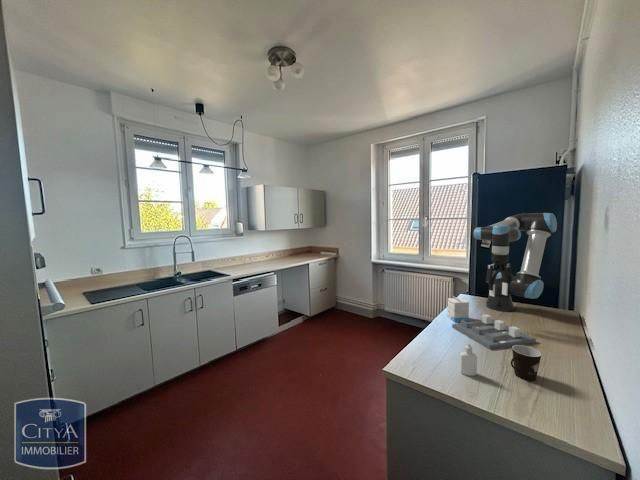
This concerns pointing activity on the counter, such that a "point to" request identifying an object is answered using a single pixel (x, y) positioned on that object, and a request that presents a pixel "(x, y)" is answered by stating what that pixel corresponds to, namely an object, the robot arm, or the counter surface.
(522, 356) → the coffee mug
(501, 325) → the tab
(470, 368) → the eye dropper bottle
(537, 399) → the counter surface
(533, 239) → the robot arm
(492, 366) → the counter surface
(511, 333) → the tab
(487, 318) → the tab
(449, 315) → the ink box
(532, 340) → the switch board
